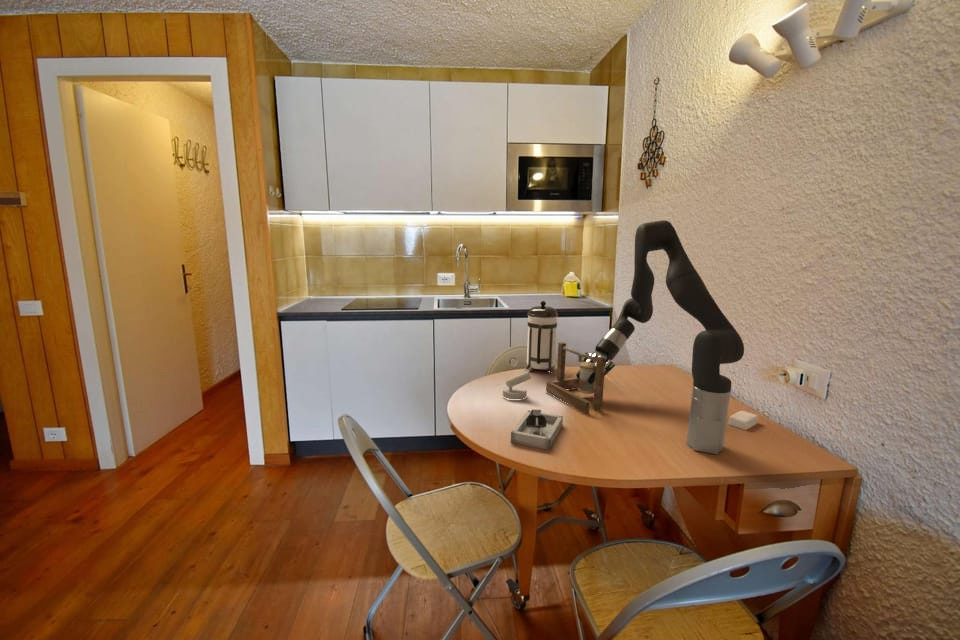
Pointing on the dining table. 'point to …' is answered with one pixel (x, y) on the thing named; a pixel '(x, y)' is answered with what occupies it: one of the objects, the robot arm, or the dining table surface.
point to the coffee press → (541, 337)
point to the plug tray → (537, 431)
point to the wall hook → (513, 390)
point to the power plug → (536, 421)
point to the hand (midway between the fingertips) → (583, 379)
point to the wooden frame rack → (577, 381)
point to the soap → (743, 420)
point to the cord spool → (586, 377)
